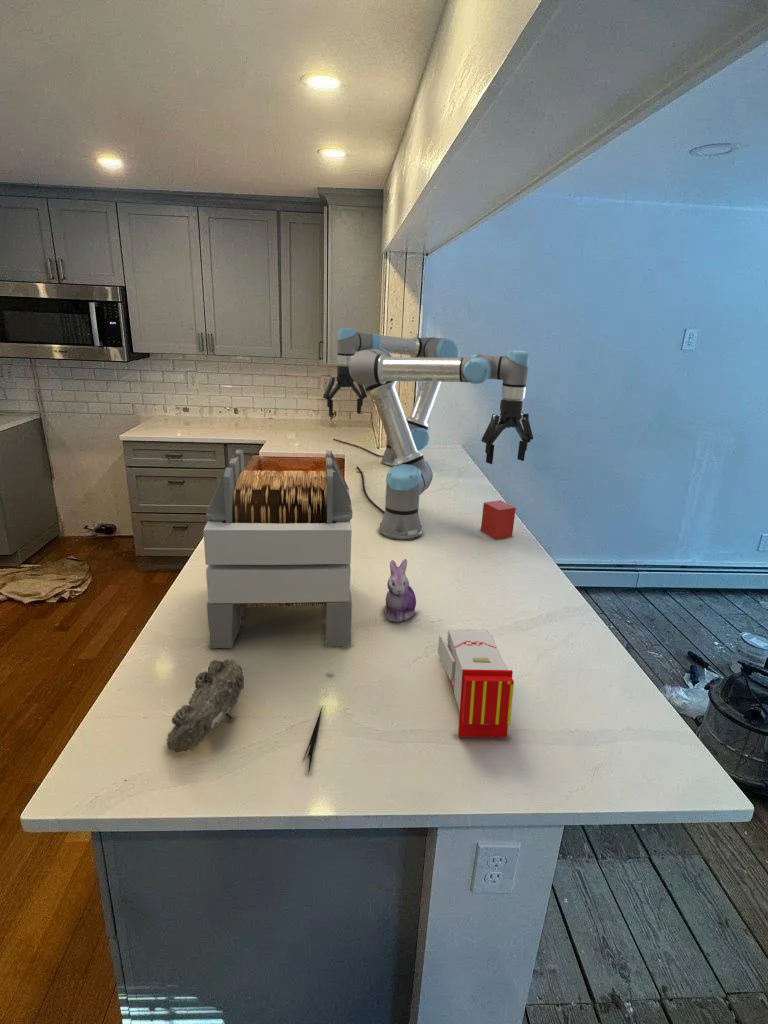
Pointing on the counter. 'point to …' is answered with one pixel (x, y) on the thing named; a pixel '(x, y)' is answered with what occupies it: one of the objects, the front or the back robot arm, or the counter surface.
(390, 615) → the figurine
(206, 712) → the fossil
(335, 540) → the record crate
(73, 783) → the counter surface
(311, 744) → the feather
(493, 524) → the brick
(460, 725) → the toy
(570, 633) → the counter surface
